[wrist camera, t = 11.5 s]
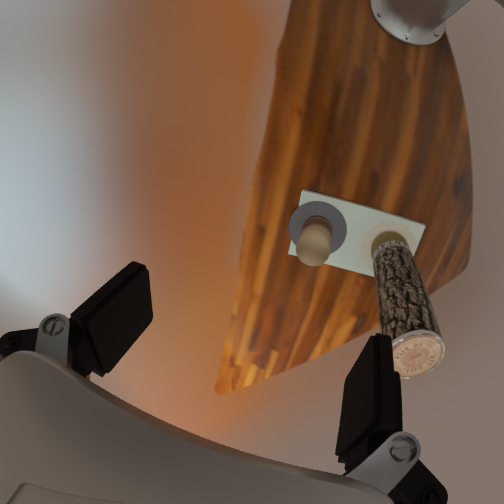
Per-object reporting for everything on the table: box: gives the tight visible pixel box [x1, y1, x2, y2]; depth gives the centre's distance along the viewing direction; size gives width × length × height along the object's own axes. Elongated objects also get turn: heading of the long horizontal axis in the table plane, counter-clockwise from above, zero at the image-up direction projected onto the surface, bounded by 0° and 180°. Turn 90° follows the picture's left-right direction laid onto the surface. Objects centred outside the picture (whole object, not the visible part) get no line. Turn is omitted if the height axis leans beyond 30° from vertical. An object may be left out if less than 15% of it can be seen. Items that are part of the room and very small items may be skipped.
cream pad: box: [361, 222, 416, 271], centre depth 45 cm, size 10×10×1 cm
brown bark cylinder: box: [371, 232, 444, 378], centre depth 34 cm, size 7×7×25 cm
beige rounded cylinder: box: [296, 215, 333, 266], centre depth 44 cm, size 5×5×8 cm
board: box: [288, 189, 425, 277], centre depth 47 cm, size 12×23×1 cm, turn 82°
